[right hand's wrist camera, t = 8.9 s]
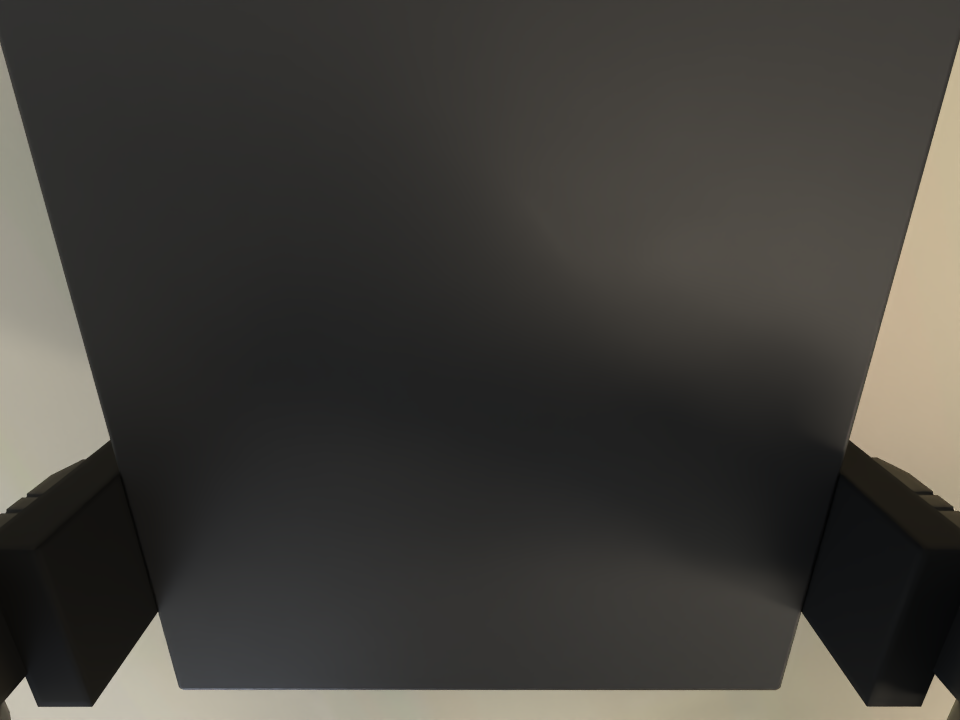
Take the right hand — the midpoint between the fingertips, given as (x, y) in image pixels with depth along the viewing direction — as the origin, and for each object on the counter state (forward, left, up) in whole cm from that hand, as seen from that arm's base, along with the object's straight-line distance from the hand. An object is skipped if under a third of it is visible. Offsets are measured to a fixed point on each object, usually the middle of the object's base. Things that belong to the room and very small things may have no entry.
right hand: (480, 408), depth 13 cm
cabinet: (+3, -6, -4) cm, 7 cm away
